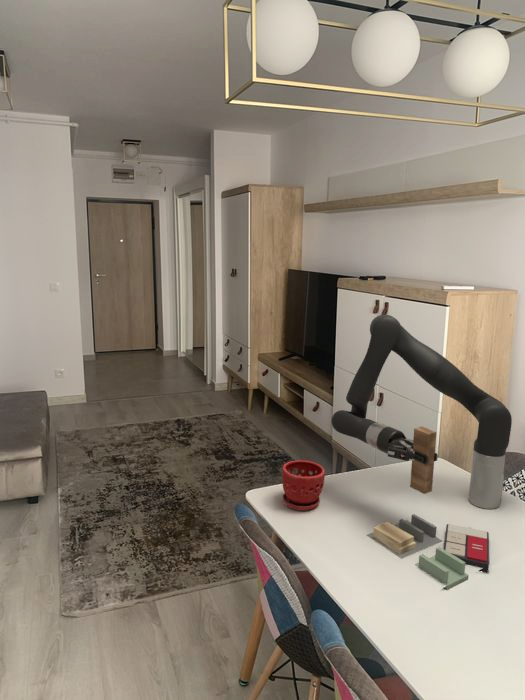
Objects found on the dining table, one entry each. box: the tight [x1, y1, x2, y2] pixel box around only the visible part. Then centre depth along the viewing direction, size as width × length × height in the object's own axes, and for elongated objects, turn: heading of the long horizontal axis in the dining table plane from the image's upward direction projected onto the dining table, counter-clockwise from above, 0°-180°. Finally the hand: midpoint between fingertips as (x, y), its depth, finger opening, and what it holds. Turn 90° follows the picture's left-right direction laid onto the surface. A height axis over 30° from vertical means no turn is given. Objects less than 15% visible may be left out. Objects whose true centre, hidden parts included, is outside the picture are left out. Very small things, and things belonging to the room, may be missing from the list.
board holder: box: [414, 546, 469, 591], centre depth 134 cm, size 8×10×4 cm
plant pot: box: [281, 459, 326, 511], centre depth 168 cm, size 13×13×12 cm
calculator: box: [443, 523, 490, 574], centre depth 144 cm, size 11×4×15 cm
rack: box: [366, 513, 443, 559], centre depth 148 cm, size 16×13×4 cm
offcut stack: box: [372, 521, 416, 554], centre depth 146 cm, size 6×10×3 cm, turn 32°
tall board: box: [409, 426, 437, 495], centre depth 146 cm, size 3×5×17 cm, turn 32°
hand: (431, 459), depth 144 cm, fingers closed on tall board, 3 cm apart
